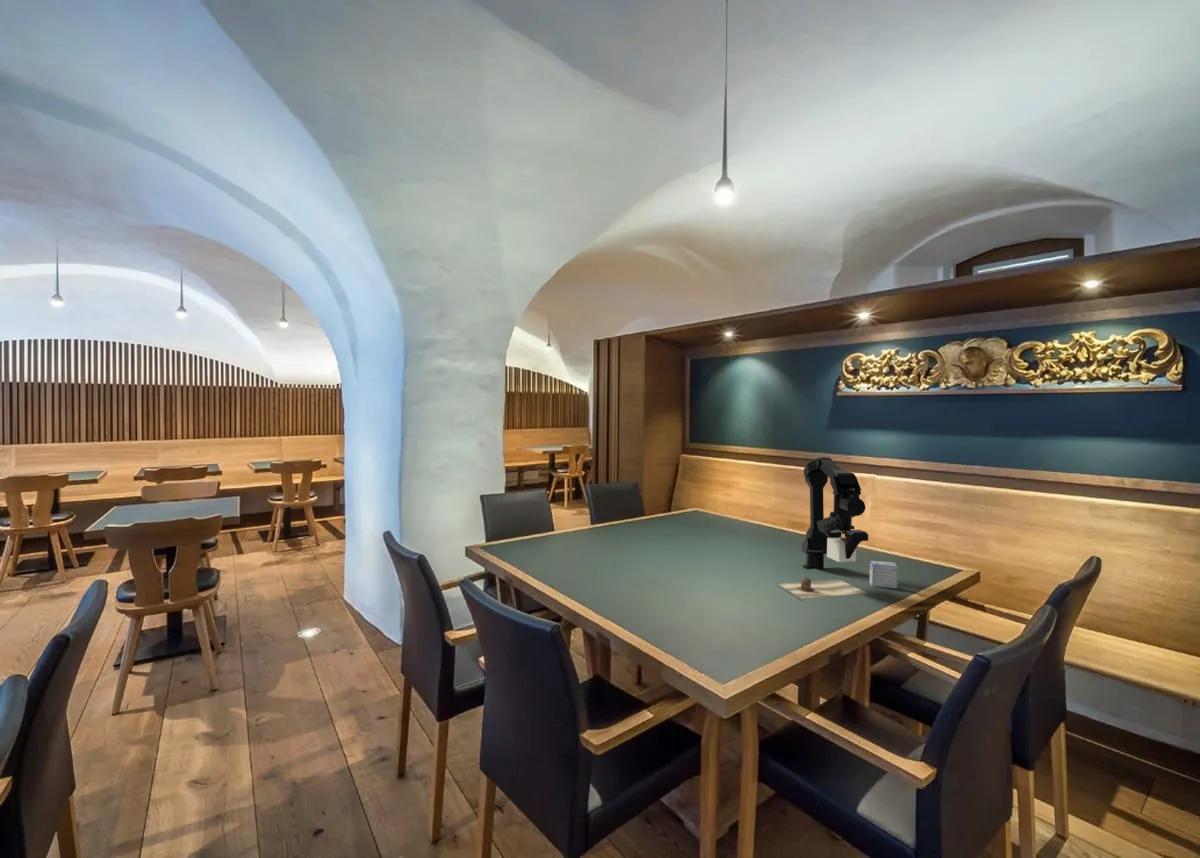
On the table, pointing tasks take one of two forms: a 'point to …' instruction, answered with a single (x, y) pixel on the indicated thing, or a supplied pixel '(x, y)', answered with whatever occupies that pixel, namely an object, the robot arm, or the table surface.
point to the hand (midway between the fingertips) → (841, 555)
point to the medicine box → (883, 574)
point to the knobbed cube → (838, 550)
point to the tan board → (820, 588)
